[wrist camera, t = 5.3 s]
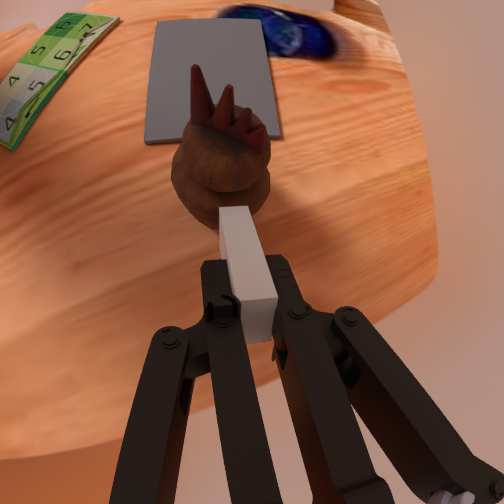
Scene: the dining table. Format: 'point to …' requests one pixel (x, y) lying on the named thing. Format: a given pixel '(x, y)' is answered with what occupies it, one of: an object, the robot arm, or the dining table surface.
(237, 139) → the wooden figurine
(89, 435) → the dining table surface
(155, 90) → the charcoal rubber mat
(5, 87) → the green number grid board
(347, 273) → the dining table surface
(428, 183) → the dining table surface
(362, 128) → the dining table surface
